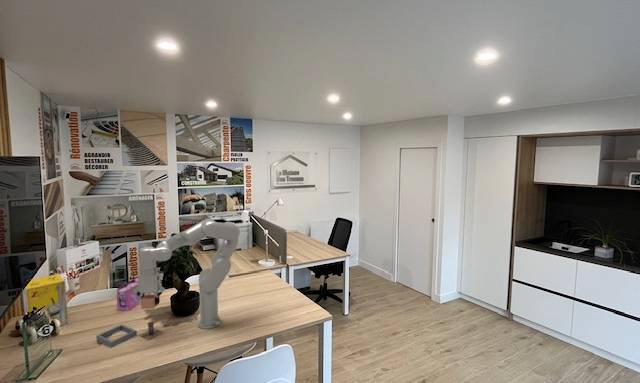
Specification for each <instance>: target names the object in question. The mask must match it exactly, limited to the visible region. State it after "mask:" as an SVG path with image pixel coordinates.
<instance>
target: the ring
mask: <svg viewBox="0 0 640 383" xmlns="http://www.w3.org/2000/svg"><path fill="white" fill-rule="evenodd" d="M159 304H160V302H159V303H158V304H157V305H155V295H154V293H150V294H146V295H145V296H144V297H143V298H142V299H141V303H140V308H141V309H143V310H145V309H147V310H149V309H153V310H154V309H155V308H156V307H157V306H158V305H159Z"/></svg>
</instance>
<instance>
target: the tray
mask: <svg viewBox="0 0 640 383" xmlns="http://www.w3.org/2000/svg"><path fill="white" fill-rule="evenodd" d="M120 331H122V332H124V333H126V334H124V335H122V336H120V337H118V338H116V339H113V340H110V339H109V338H111V337H112V336H113V335H114V334H116V333H118V332H120ZM137 332H138V331H137V330H135V329H134V328H132V327H129V326H126V325H124V324H119V325H117V326H115V327H113V328H110V329H108V330H106V331H104V332H101V333H99V334H96V335H95V336H96V343H97V344H100V345H103V344H104V345H105V346H107V347H108V348H109V347H110V348H113V347H115V346H117V345H120V344H122V343H123V342H126V341H128V340H130V339H132V338H134V337H137V336H138V333H137Z"/></svg>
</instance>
